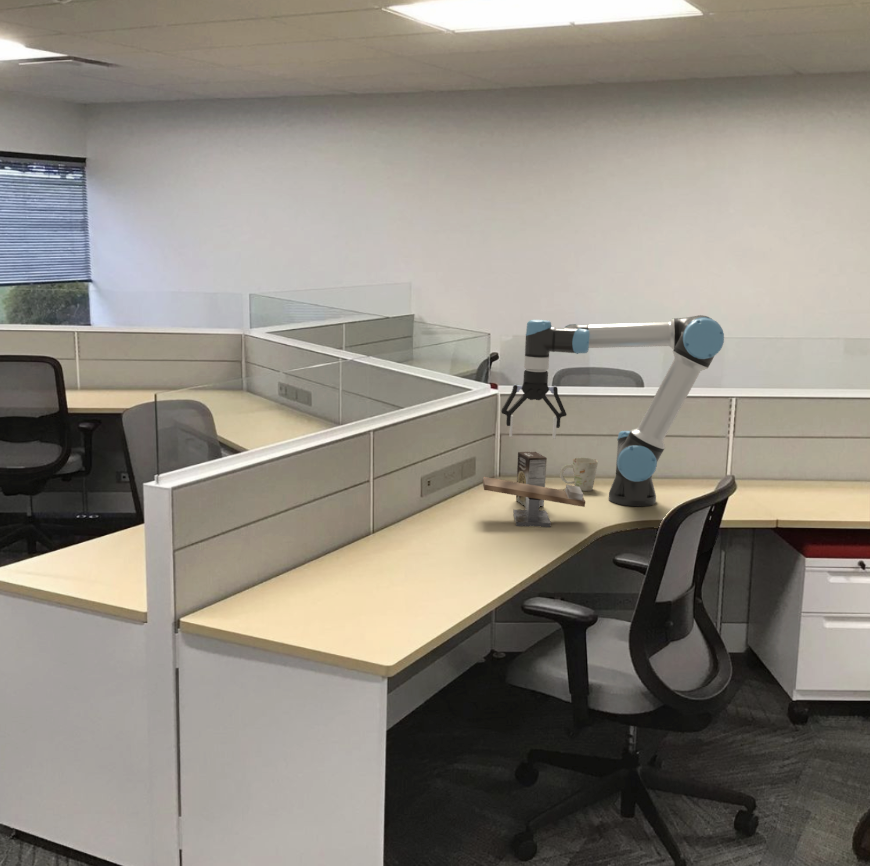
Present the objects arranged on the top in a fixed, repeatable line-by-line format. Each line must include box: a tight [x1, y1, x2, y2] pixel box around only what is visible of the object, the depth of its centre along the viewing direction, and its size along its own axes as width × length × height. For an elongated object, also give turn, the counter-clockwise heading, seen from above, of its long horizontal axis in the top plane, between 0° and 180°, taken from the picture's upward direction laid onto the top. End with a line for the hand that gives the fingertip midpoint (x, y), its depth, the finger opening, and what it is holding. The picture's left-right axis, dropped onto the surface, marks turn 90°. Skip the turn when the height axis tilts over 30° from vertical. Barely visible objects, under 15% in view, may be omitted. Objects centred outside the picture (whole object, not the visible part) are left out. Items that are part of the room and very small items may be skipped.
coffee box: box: [515, 451, 548, 508], centre depth 318 cm, size 9×6×16 cm
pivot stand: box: [512, 497, 552, 528], centre depth 300 cm, size 10×14×8 cm
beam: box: [482, 476, 586, 508], centre depth 299 cm, size 30×10×4 cm, turn 90°
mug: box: [559, 457, 599, 492], centre depth 340 cm, size 8×13×10 cm, turn 89°
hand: (532, 437), depth 315 cm, fingers open, 13 cm apart
